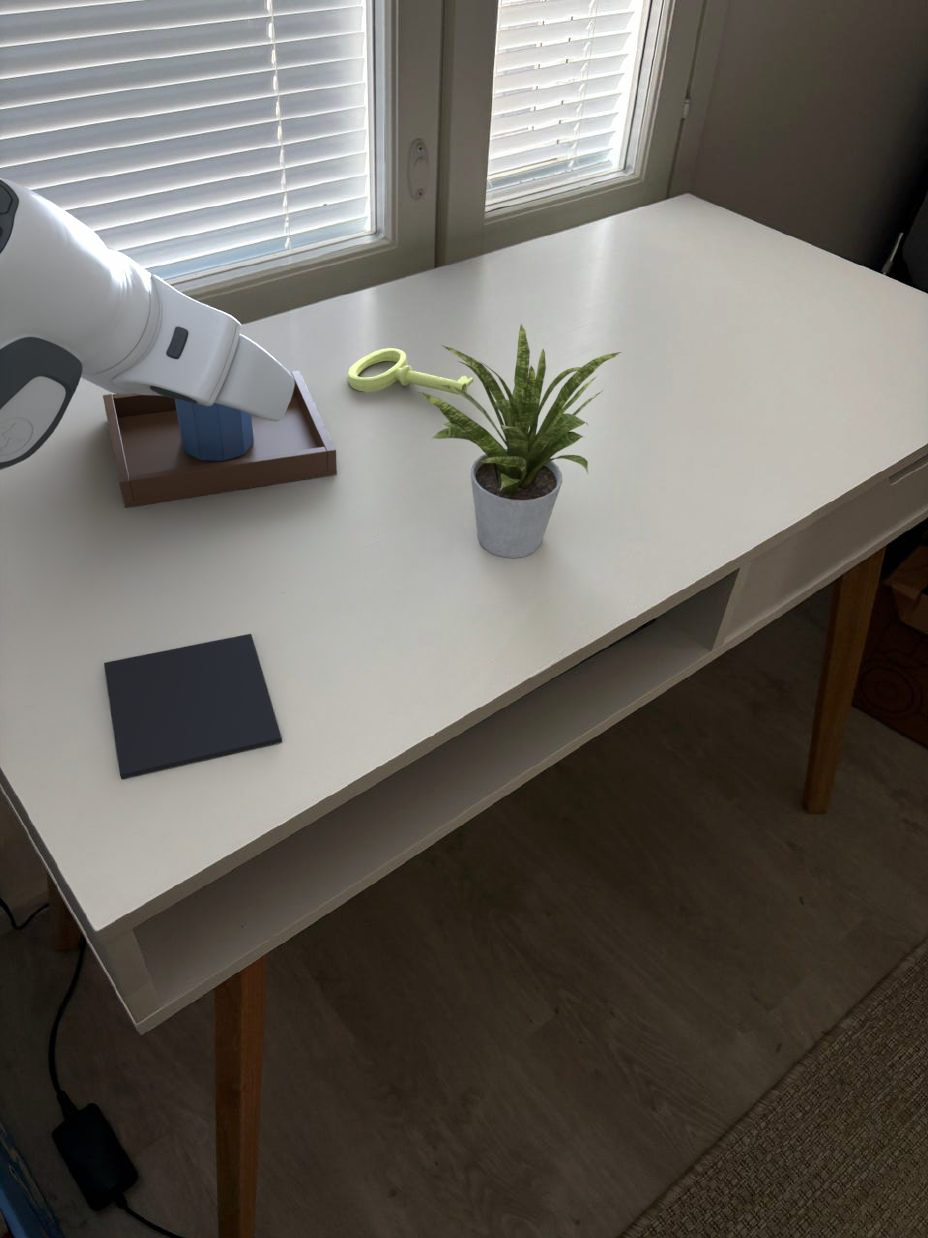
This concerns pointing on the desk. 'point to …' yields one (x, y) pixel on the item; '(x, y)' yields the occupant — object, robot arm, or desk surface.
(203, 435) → the blue faceted tube
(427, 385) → the key
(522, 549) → the house plant
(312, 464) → the tray
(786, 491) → the desk surface
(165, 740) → the mat
